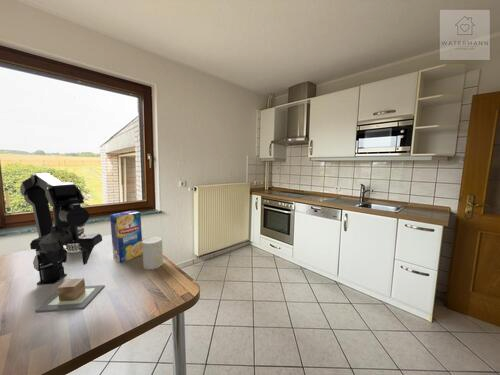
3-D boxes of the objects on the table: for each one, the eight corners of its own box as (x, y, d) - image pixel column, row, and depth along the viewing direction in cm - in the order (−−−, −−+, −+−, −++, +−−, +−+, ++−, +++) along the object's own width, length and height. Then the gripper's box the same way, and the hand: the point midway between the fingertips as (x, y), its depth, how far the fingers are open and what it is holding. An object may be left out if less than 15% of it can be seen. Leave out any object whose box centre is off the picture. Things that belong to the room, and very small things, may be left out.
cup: (155, 270, 91) (154, 244, 89) (139, 268, 92) (137, 242, 91) (166, 261, 99) (165, 237, 97) (151, 260, 100) (150, 236, 99)
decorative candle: (87, 244, 118) (83, 201, 115) (88, 249, 111) (83, 203, 108) (66, 248, 112) (61, 203, 109) (65, 254, 105) (59, 206, 102)
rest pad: (35, 311, 66) (35, 309, 66) (64, 288, 77) (63, 287, 77) (83, 308, 67) (83, 306, 67) (104, 286, 79) (104, 284, 79)
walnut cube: (59, 301, 70) (57, 287, 69) (70, 292, 74) (68, 279, 74) (75, 300, 70) (74, 286, 69) (85, 291, 75) (84, 278, 74)
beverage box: (143, 254, 106) (140, 212, 103) (119, 263, 97) (116, 217, 94) (136, 251, 110) (133, 210, 107) (113, 259, 101) (109, 214, 98)
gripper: (9, 229, 60) (16, 279, 62) (79, 227, 63) (84, 276, 65) (42, 219, 71) (47, 262, 73) (101, 217, 74) (104, 259, 76)
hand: (70, 265), depth 71 cm, fingers open, 9 cm apart
